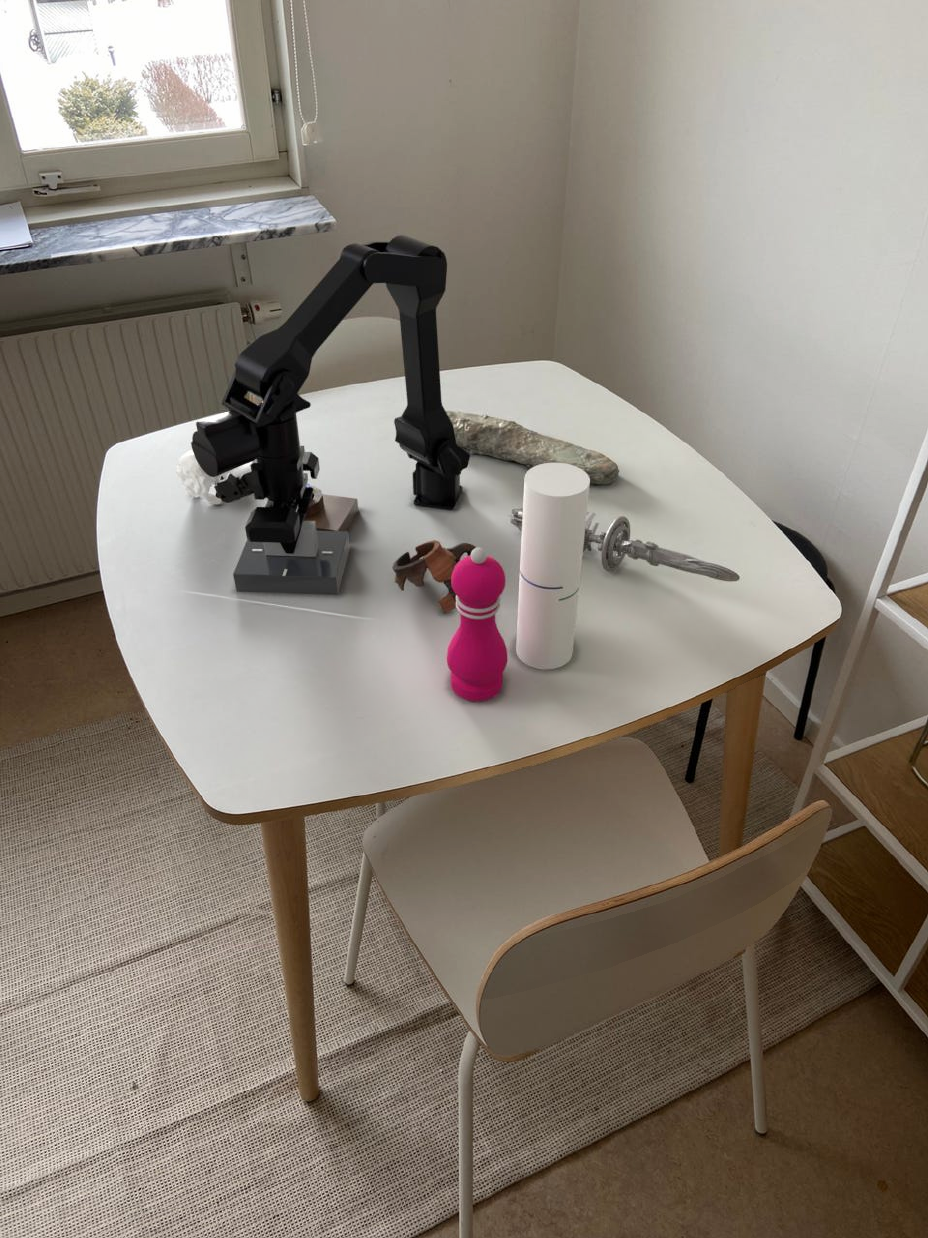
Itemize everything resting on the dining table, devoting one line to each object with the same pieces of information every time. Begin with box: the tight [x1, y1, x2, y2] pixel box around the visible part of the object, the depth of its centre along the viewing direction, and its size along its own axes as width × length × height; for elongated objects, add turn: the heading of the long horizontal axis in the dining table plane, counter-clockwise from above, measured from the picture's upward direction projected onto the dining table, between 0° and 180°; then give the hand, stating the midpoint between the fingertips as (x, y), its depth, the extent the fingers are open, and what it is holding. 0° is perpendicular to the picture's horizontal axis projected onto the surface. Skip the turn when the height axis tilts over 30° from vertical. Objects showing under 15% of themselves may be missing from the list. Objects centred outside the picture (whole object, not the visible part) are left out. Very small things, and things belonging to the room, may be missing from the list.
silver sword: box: [508, 506, 741, 582], centre depth 128 cm, size 8×35×8 cm
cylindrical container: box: [515, 463, 591, 670], centre depth 109 cm, size 7×7×25 cm
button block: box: [304, 484, 359, 532], centre depth 138 cm, size 12×9×4 cm
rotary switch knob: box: [264, 521, 319, 557], centre depth 127 cm, size 7×2×5 cm, turn 87°
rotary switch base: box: [232, 531, 351, 596], centre depth 129 cm, size 14×11×3 cm
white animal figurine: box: [175, 449, 222, 506], centre depth 144 cm, size 6×8×12 cm
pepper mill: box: [446, 547, 509, 703], centre depth 106 cm, size 7×7×20 cm
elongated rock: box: [445, 410, 620, 485], centre depth 154 cm, size 35×5×10 cm
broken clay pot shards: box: [391, 539, 477, 614], centre depth 125 cm, size 12×10×8 cm
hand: (291, 547), depth 128 cm, fingers closed on rotary switch knob, 2 cm apart
